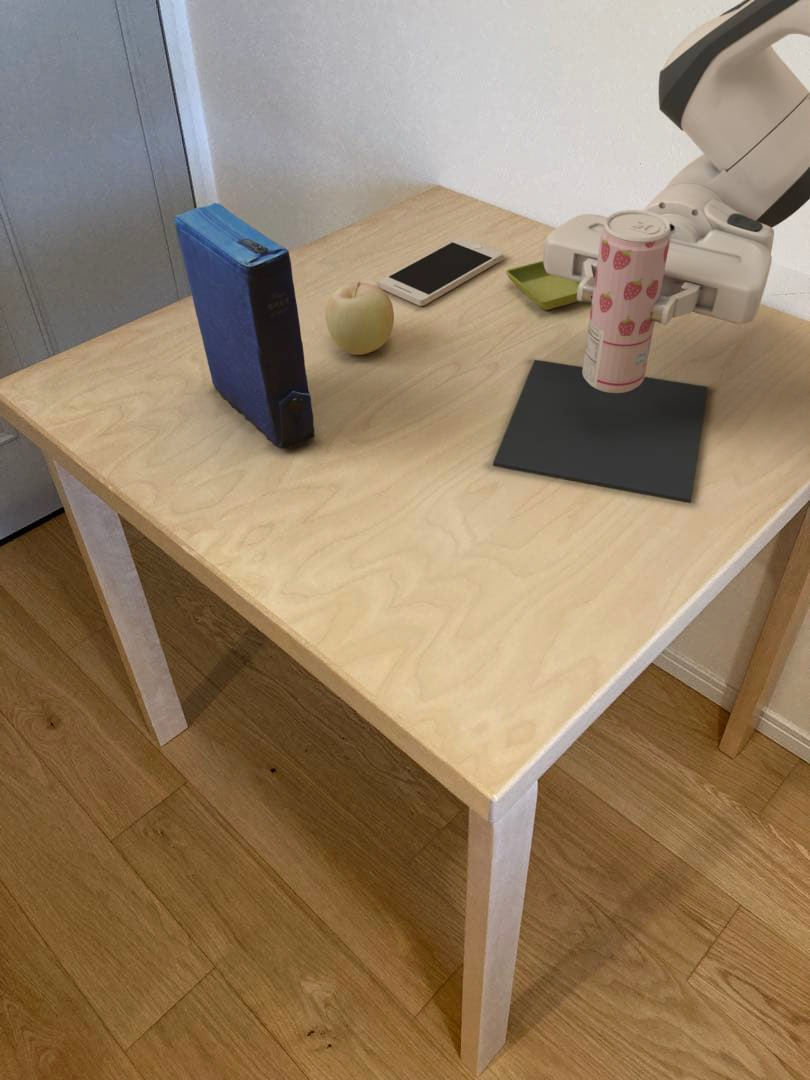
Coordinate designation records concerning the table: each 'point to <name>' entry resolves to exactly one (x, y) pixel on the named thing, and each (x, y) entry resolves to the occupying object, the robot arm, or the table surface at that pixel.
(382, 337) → the fruit
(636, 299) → the beverage can
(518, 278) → the saucer
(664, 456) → the mat
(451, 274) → the smartphone
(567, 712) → the table surface
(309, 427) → the book
